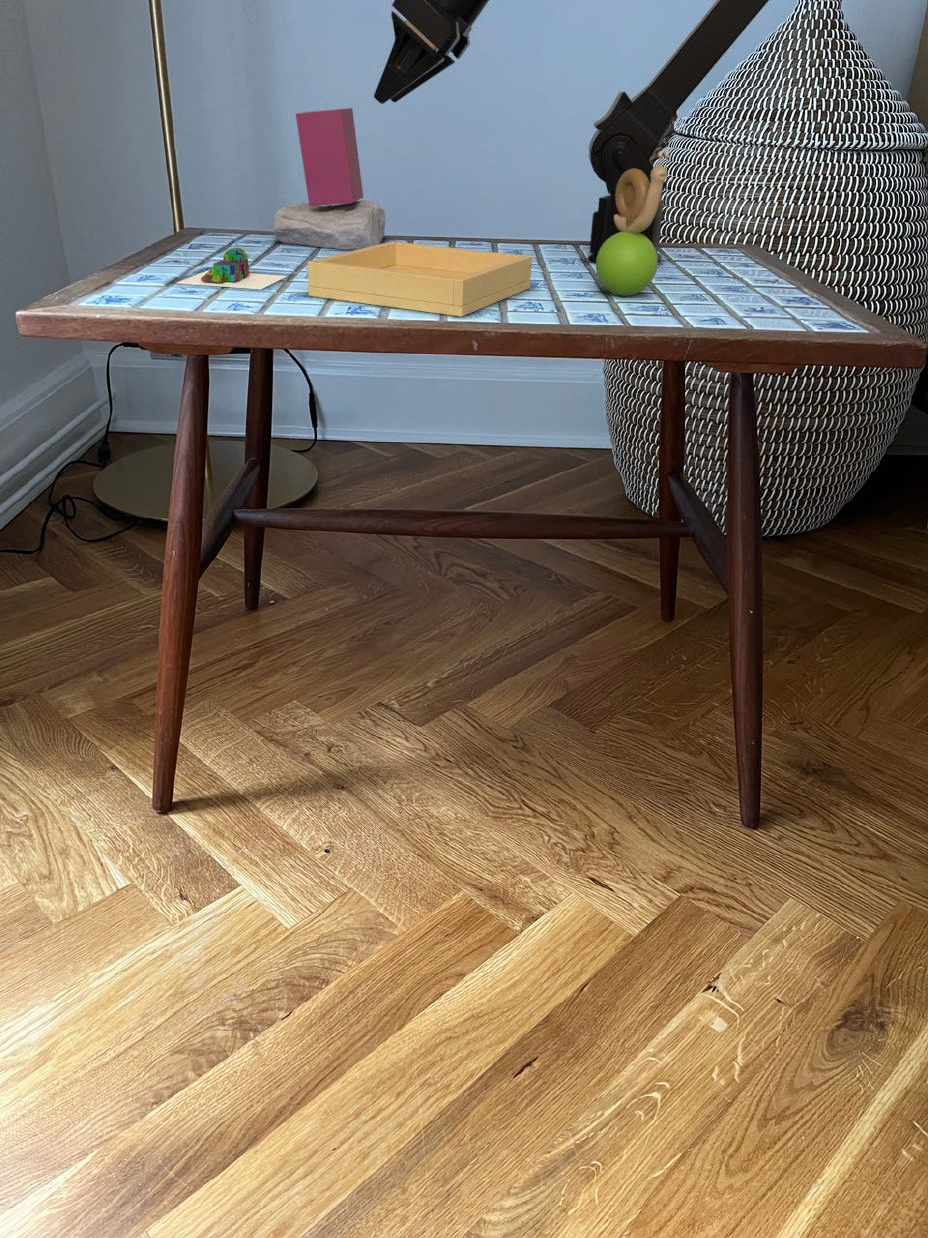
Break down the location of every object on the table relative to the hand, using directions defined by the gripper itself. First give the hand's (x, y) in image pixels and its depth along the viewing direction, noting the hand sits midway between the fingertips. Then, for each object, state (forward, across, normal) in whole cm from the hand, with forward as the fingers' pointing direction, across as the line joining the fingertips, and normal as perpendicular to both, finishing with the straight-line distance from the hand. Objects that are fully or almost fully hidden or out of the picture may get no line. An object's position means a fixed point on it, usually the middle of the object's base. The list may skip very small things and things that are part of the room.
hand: (384, 99), depth 97 cm
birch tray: (+8, +22, +14) cm, 28 cm away
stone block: (+16, -3, +3) cm, 17 cm away
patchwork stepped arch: (+18, +21, 0) cm, 28 cm away
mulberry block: (+12, -4, +1) cm, 12 cm away
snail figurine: (-3, +20, +29) cm, 35 cm away
